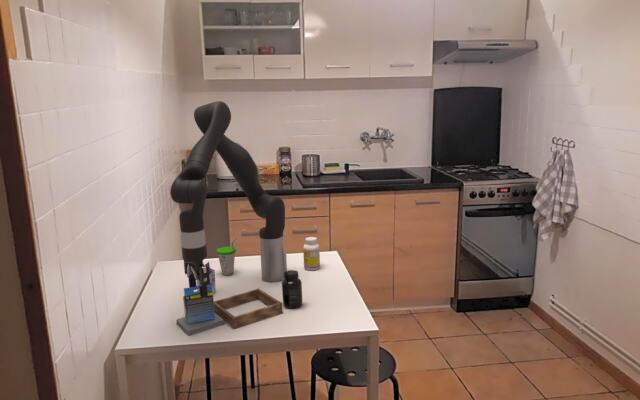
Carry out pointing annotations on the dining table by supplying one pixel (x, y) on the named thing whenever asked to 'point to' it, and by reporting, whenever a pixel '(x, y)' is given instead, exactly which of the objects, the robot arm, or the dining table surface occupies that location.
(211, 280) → the ink box
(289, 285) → the supplement bottle
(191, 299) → the blue product box
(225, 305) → the bin
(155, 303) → the dining table surface
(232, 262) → the cup
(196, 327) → the grey rectangular slab
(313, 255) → the supplement bottle
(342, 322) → the dining table surface
